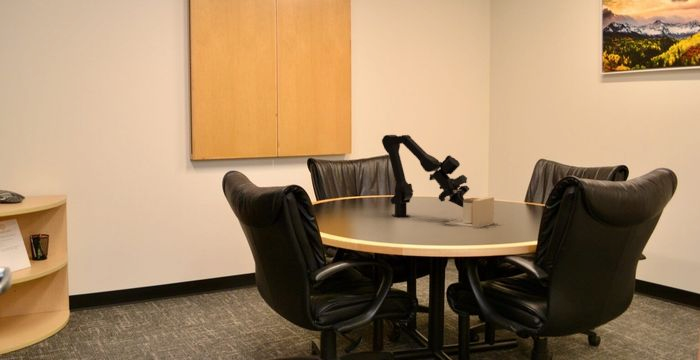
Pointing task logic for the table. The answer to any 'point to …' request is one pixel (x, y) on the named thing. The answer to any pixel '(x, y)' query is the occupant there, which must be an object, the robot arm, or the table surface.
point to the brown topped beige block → (468, 210)
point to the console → (479, 213)
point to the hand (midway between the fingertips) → (465, 207)
